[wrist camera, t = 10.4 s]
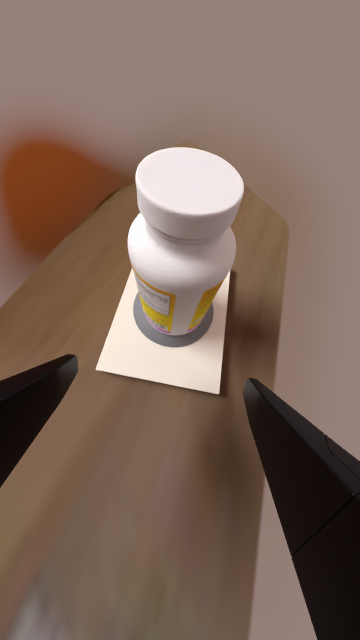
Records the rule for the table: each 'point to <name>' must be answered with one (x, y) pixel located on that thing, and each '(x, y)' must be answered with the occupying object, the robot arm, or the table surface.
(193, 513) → the table surface
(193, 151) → the supplement bottle
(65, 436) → the table surface
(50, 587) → the table surface
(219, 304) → the base
